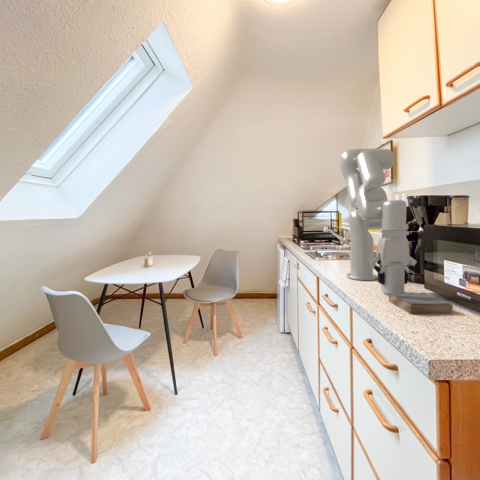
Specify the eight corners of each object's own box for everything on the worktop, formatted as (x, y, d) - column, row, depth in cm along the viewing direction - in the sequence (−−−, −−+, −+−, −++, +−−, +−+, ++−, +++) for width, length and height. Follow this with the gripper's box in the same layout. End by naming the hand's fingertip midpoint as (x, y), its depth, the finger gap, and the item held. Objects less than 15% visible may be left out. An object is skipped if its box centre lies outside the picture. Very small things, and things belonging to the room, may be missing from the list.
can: (407, 296, 96) (408, 262, 95) (384, 296, 98) (385, 262, 97) (399, 291, 103) (400, 259, 102) (378, 290, 105) (378, 259, 104)
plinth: (388, 302, 92) (388, 293, 91) (424, 302, 92) (425, 292, 91) (410, 315, 80) (410, 304, 80) (452, 314, 80) (452, 303, 79)
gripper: (411, 233, 102) (410, 280, 104) (364, 234, 103) (364, 281, 104) (424, 235, 95) (423, 285, 96) (374, 236, 95) (373, 286, 97)
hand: (392, 282), depth 100 cm, fingers closed on can, 7 cm apart
